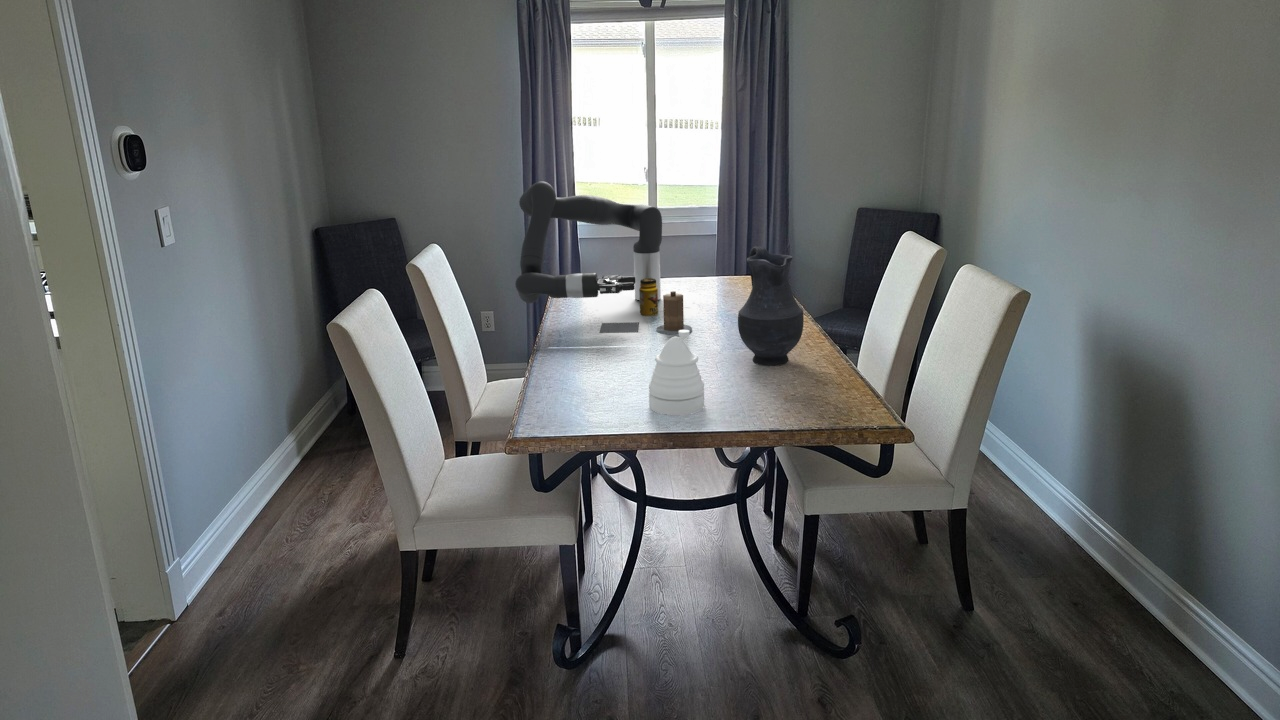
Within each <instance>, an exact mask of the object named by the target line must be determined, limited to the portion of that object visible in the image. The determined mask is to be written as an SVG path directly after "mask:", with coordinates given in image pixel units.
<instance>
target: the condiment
mask: <svg viewBox="0 0 1280 720" xmlns="http://www.w3.org/2000/svg"><path fill="white" fill-rule="evenodd" d="M640 283H641V284H640V286H641V287H640V289H639V294H640V301H639V313H640V315H641V316H645V317H648V316H649V317H652V316H657V315H658V313H659V302H658V301H659V300H658V290H657V287H656V280H655V279H653V278H645V279H641V280H640Z"/></svg>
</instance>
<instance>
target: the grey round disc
mask: <svg viewBox="0 0 1280 720" xmlns="http://www.w3.org/2000/svg"><path fill="white" fill-rule="evenodd" d="M655 329H656V332H657V333H659V334H662V335H669V336H670V335H671V336H673V335H679V333H678V331H667V330H664V324H662V325H659V326H656V328H655ZM683 330H689V331H690V333H689V334H691V333H692V332H693V327H692V326H691V325H688V324H684V329H683Z"/></svg>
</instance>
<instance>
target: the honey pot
mask: <svg viewBox="0 0 1280 720" xmlns="http://www.w3.org/2000/svg"><path fill="white" fill-rule="evenodd" d="M678 333H679V334H678V336H672V337H670V338H669V339H668V340H667V341H666V342H665V344H664V345H663V346H662V349H661V350H660V353H659V354H657V355H656V356H654V357H655V358H654V361H655V363H656V365H655V368H653V371H652V376H651V380H650V382H649V385H648V392H649V393H648V399H649V400H648V403H649V404H648V405H649V409H650V410H651V409H652V410H653V411H652V410H651V411H652V412H654V411H655V413H656V412H658V413H657V414H659V413H662V414H661V415H664V414H667V415H666V416H686V415H687V414H688V415H691V413H693V414H695V412H696V413H698V411H699V412H701V411H702V410H703V409H704V408H703V407H705V383H704V382H703V381H704V380H702V375H701V374H700V369H699V368H698V365H697V362H699V355H698V354H696V353H694V352H692V351H691V350H690V348H689V346H688V344H687V343H686V341H684V340H686V339H688V338H689V336H690V334H691V333H690V331H689V330H679V331H678ZM701 409H702V410H701Z"/></svg>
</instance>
